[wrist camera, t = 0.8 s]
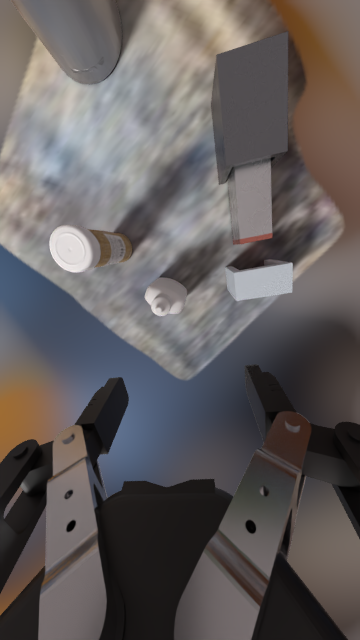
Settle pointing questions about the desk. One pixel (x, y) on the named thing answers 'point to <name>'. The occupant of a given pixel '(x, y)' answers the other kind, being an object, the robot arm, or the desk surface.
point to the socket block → (260, 280)
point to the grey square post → (251, 201)
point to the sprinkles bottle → (87, 248)
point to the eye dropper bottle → (166, 296)
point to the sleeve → (251, 104)
